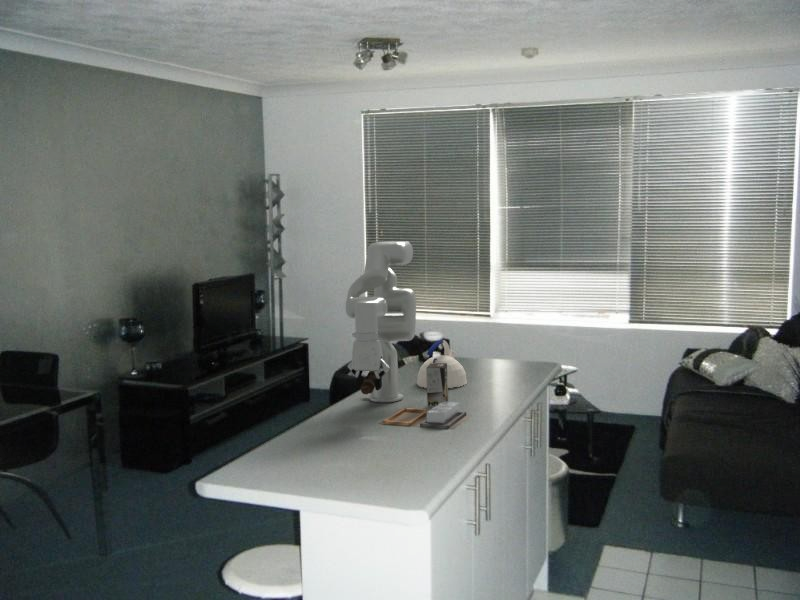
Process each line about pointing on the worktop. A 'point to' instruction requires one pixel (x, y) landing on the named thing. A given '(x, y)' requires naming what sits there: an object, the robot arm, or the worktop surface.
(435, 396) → the coffee box
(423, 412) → the wooden tray
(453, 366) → the kettle
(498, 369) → the worktop surface
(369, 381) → the bolt
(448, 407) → the bar
